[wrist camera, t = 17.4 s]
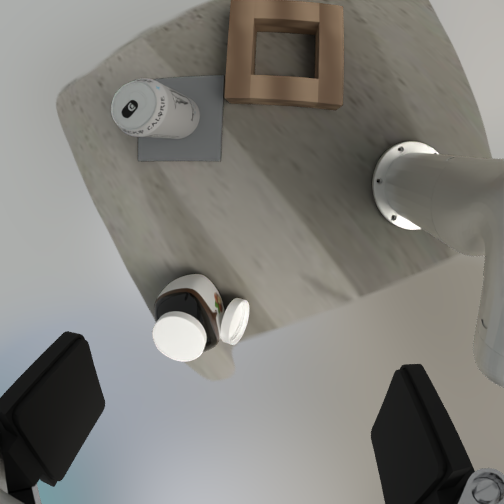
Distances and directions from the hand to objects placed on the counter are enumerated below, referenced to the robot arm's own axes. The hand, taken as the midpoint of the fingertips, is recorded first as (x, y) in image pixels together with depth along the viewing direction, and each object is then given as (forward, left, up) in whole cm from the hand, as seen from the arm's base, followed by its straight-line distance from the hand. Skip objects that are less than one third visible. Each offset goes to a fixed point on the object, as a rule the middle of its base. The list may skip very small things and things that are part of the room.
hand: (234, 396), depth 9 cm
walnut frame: (-1, -20, -36) cm, 41 cm away
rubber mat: (+13, -11, -36) cm, 40 cm away
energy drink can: (+13, -11, -36) cm, 40 cm away
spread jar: (+8, +16, -37) cm, 41 cm away
